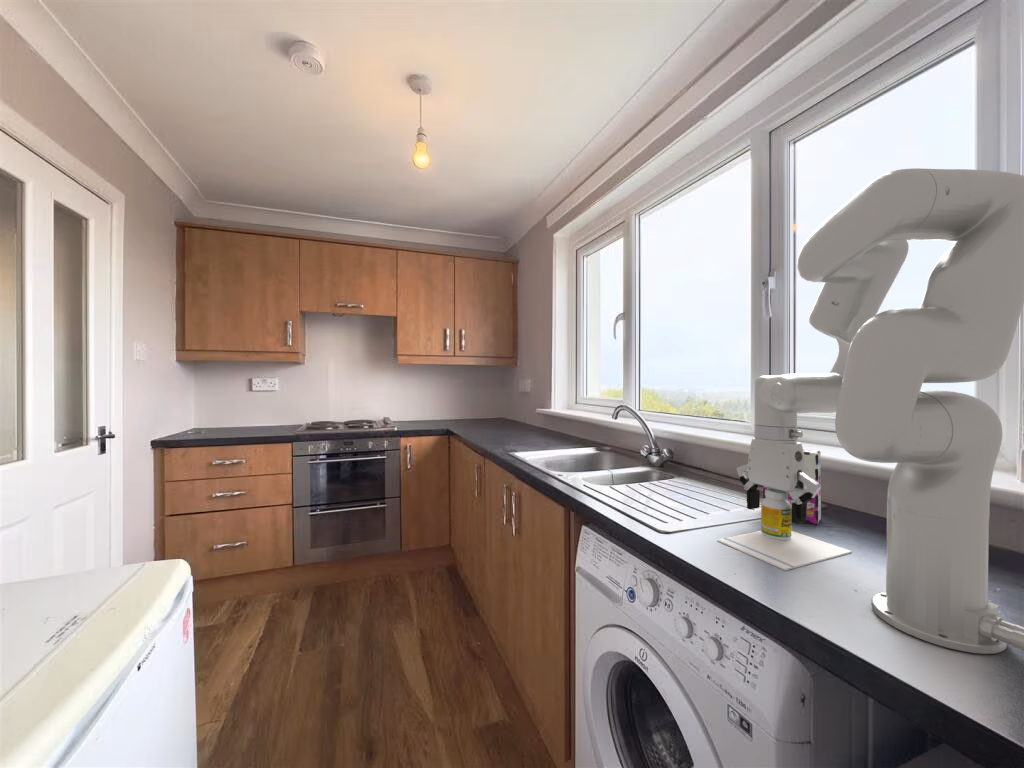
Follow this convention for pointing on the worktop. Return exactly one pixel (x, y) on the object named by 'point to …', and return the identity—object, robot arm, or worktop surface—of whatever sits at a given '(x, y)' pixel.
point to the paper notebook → (784, 549)
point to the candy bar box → (814, 473)
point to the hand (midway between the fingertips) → (774, 515)
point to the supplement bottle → (776, 515)
